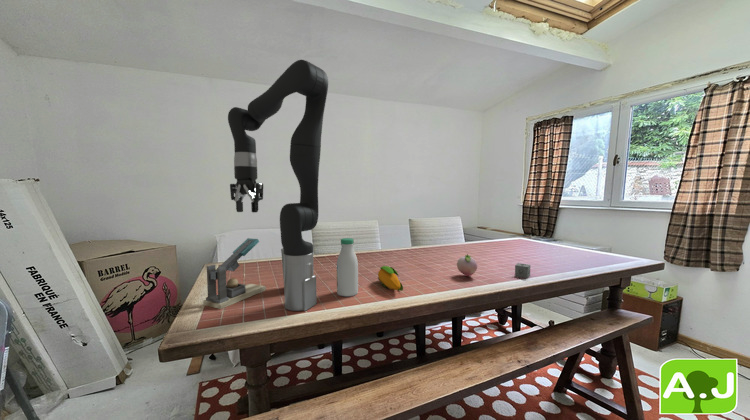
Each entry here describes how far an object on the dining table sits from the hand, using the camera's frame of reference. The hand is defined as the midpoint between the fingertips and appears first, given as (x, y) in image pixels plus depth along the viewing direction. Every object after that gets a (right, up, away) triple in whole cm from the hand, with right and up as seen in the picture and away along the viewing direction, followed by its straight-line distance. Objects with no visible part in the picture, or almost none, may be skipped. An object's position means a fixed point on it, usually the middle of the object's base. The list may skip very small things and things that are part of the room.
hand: (247, 212), depth 102 cm
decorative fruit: (+86, -29, +21) cm, 94 cm away
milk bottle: (+36, -30, 0) cm, 47 cm away
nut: (-3, -26, -5) cm, 27 cm away
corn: (+53, -30, +7) cm, 61 cm away
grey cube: (+112, -29, +22) cm, 117 cm away
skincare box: (+15, -30, +5) cm, 34 cm away
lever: (-2, -21, -4) cm, 22 cm away
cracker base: (-2, -30, -3) cm, 30 cm away
